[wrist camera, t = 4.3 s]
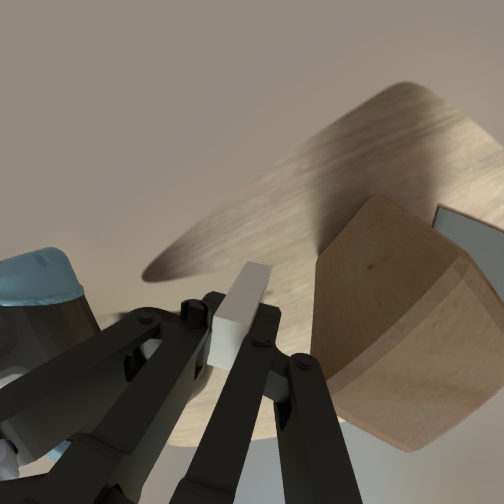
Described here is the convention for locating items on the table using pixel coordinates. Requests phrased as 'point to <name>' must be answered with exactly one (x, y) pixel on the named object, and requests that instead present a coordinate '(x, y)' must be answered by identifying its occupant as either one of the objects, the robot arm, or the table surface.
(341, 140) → the table surface
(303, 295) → the table surface
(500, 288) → the mat
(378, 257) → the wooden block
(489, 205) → the table surface
